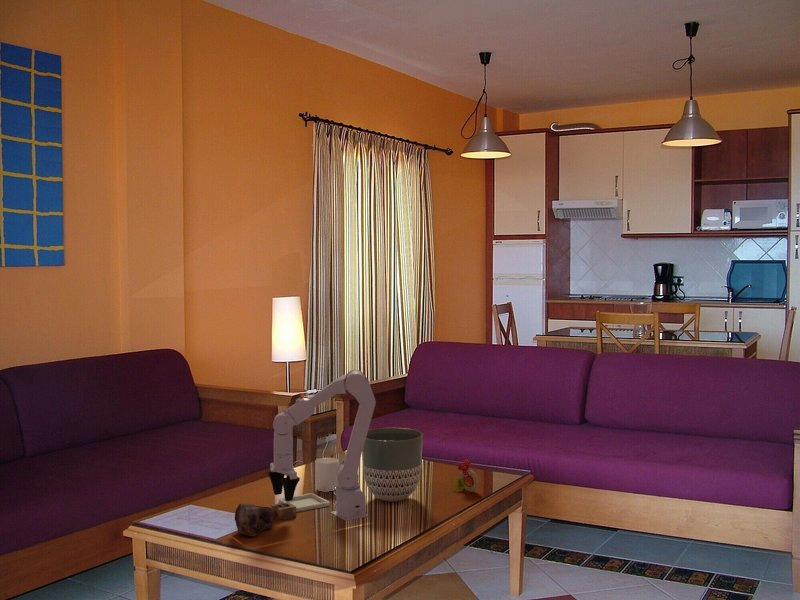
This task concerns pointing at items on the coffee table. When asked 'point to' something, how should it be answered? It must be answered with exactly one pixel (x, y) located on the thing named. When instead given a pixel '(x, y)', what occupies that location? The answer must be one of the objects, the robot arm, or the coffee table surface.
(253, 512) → the rock
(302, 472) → the coffee table surface
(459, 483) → the bird rattle
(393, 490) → the planter
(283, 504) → the grey knobbed lid
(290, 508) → the brown square frame
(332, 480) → the white cup
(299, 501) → the tray
